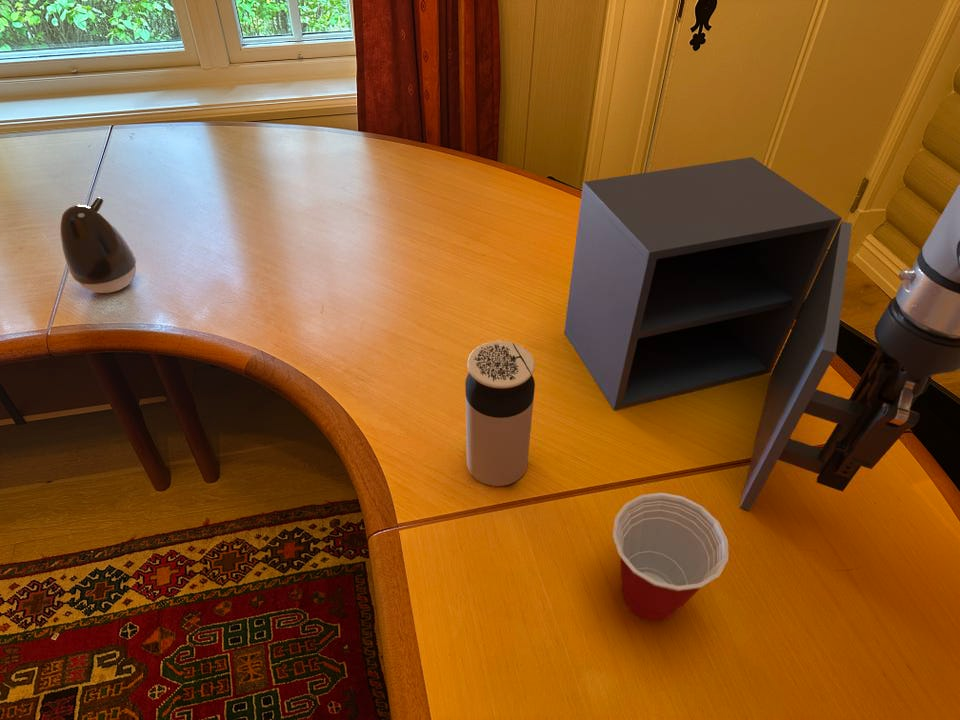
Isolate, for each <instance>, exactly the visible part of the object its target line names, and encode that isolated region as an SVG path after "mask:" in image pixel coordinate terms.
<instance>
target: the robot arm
mask: <svg viewBox="0 0 960 720" xmlns="http://www.w3.org/2000/svg"><path fill="white" fill-rule="evenodd" d="M914 260H915V261H914V263H913V265H912V267H911V268H910V269H909V268H902V269H901V270H900V272H899V274H898V277H899V279H900V280H901V284H900V285H899V287H898V289H897V291H896V293H895V296H894V297H893V298H891V300H890V301H889V303H888V304H887V306H886V308H885V309H884V311H883V312H882V315H881V316H880V318H879V319H878V321H877V323H876V325H875V327H874V331H873V332H874V338H875V341H876V343H877V345H878V347H877V348H876V349H875V352H874V354H873V355H872V358H871V359H870V361H869V363H868V364H867V366H866V368H865V370H864V371H863V372H862V373H863V374H862V375H861V377H860V379H859V380H858V382H857V384H856V386H855V388H854V389H853V391H852V393H851V394H850V397H849V398H848V399H849V400H852V401H855V402H859V403H862V404H864V405H865V406H866V408H865V409H864V411H863V413H862V415H861V416H860V418H859V420H858V421H857V423H856V425H855V426H854V428H853V430H852V431H851V433H850V435H849V436H848V438H847V440H846V441H845V442H842V441H838V440H837V441H836V443H835V446H834V449H835V451H834V452H833V454H832V456H831V457H830V459H829V460H828V462H827V463H826V465H825V466H824V468H823V469H822V471H821V472H820V474H817V477H816V484H819V485H823V486H826V487H828V488H831V489H834V490H837V491H840V492H842V493H843V492H844V491H845V489H846V488H847V486H848V485H849V484H850V483H851V481H852V480H853V478H854V477H855V475H856V474H857V473H858V471H859V470H860V468H861V467H862V468H865V469H868V470H872V469H874V467H875V466H876V465H877V464H878V463H879V461H880V460H881V459H882V458H883V457H884V456H885V455H886V454H887V452H889V450H890V449H891V448H892V447H893V446H894V445H895V444H896V442H897V441H898V440H899V439H900V438H901V437H902V436H903V435H904V433H905V432H906V431H908V430H909V429H911V428H913V427H915V426H916V425H917V423H919V420H920V413H919V412H917V411H914V410H911V408H912V406H913V405H914V403H915V402H916V401H917V399H918V397H919V396H920V395H923V394H924V393H925V392H926V390H927V389H928V388H929V386H930V384H931V383H932V376H935V375H940V374H947V373H953V372H957V371H959V370H960V183H959V184H958V186H957V187H956V189H955V191H954V192H953V194H952V196H951V198H950V199H949V201H948V203H947V205H946V206H945V208H944V210H943V211H942V213H941V215H940V216H939V218H938V220H937V221H936V224H935V225H934V226H933V229H932V230H931V232H930V234H929V235H928V237H927V239H926V241H925V243H924V244H923V246H922V247H921V250H920V251H919V253H918V255H917V257H916V259H914Z"/></svg>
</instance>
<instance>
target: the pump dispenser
mask: <svg viewBox="0 0 960 720" xmlns="http://www.w3.org/2000/svg"><path fill="white" fill-rule="evenodd" d="M103 199H104V198H102V197H96V198H95V200H94V201H93V202H92V204H91V205H90V206H87V205H83V204H81V205H80V204H77V205H76V204H75V205H72V206H70V207H68V208H67V209H66V210H64V212H63V213H62V216H61V219H60V224H59V225H60V226H59V231H60V243H61V249H62V254H63V257H64V260H65V263H66V265H67V268H68V271H69V273H70V275H71V277H72V278H73V280H74V281H76V282H78V283H79V284H80V286H82V287H84V288H85V289H87V290H88V291H91V292H94V293H100V294H109V293H113V292H118V291H120V290H122V289H124V288H125V287H127V286H129V284H131V283H132V281H133V280H134V278H135V276H136V271H137V265H136V264H137V258H136V256H135V253H134V252H133V250H132V248H131V247H130V245H129V244H128V242H127V241H126V240H125V238H124V237H123V235H122V234H121V233H120V232H119V230H118V229H117V228H116V227H115V226H114V225H113V224H112V223H111V222H110V221H109V220H108V219H107V218H106V217H105V216H104V215H103V214H101V213H100V209H101V208H102V205H103V204H104V200H103Z"/></svg>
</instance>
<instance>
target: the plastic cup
mask: <svg viewBox="0 0 960 720" xmlns="http://www.w3.org/2000/svg"><path fill="white" fill-rule="evenodd" d="M612 539H613V541H614V545H615V547H616V550H617V554H618V556H619V558H620V559H619V563H620V580H621V594H622V596H623V600H624V603H625V604H626V606H627V608H628V609H629V610H630V612H631V613H632V614H634V615H636V616H637V617H638V618H640V619H642V620H646V621H650V622H659V621H663V620H666V619H667V618H669V617H670V616H672V615H673V614H675V613H676V612H677V611H678V610H679V609H680V608H681V607H683V606H684V605H685V604H686V603H687V602H688V601H689V600H690V599H691V598H692V597H693V596H694V595H695V594H697V592H698V591H699V590H700V589H701V588H703V587H705V586H707V585H708V584H710V583H712V582H713V581H714V580H717V579H718V578H719V577H720V576H721V574H722V572H723V570H724V569H725V566H726V565H727V563H728V561H729V539H728V538H727V535H726V534H725V531H724V530H723V527H722V525H721V523H720V522H719V520H718V519H716V518H715V517H714V516H713V514H711V513H710V512H709V511H708V510H707V509H706V507H704V506H702V505H701V504H699V503H696V502H694V501H692V500H691V499H688V498H686V497H685V496H683V495H676V494H672V493H667V492H656V493H655V492H654V493H647V494H640V495H639V496H637V497H635V498H633V499H631V500H629V501H627V502H625V503H624V505H623V506H622V507H621V508H620V510H619V511H618V513H617V514H616V515H615V517H614V521H613V528H612Z"/></svg>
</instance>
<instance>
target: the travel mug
mask: <svg viewBox="0 0 960 720" xmlns="http://www.w3.org/2000/svg"><path fill="white" fill-rule="evenodd" d="M535 364H536V363H535V360H534V357H533V355H532V354H531V352H530V351H529V350H528V349H527V348H525V347H523V346H522V345H520V344H518V343H515V342H512V341H507V340H494V341H493V340H492V341H488V342H485V343H482V344H480V345H478V346H477V347H475V348H473V350H472V351H471V352H470V354H469V356H468V358H467V361H466V366H467V370H468V373H467V375H466V377H465V381H464V385H465V386H464V387H465V389H464V391H465V435H466V436H465V440H466V441H465V442H466V443H465V445H466V446H465V447H466V449H465V450H466V467H467V469H468V471H469V473H470V474H471V475H472V477H473V478H475V480H477V481H479V482H480V483H481V484H484V485H487V486H492V487H503V486H508V485H511V484H514V483H516V482H518V480H519V479H521V478H522V477H523V476H524V474H525V473H526V471H527V469H528V465H529V464H528V462H529V452H530V444H531V443H530V442H531V431H532V423H533V422H532V420H533V411H534V399H535V389H536V388H535V387H536V382H535V379H534V376H533V374H534V371H535V366H536V365H535Z"/></svg>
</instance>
